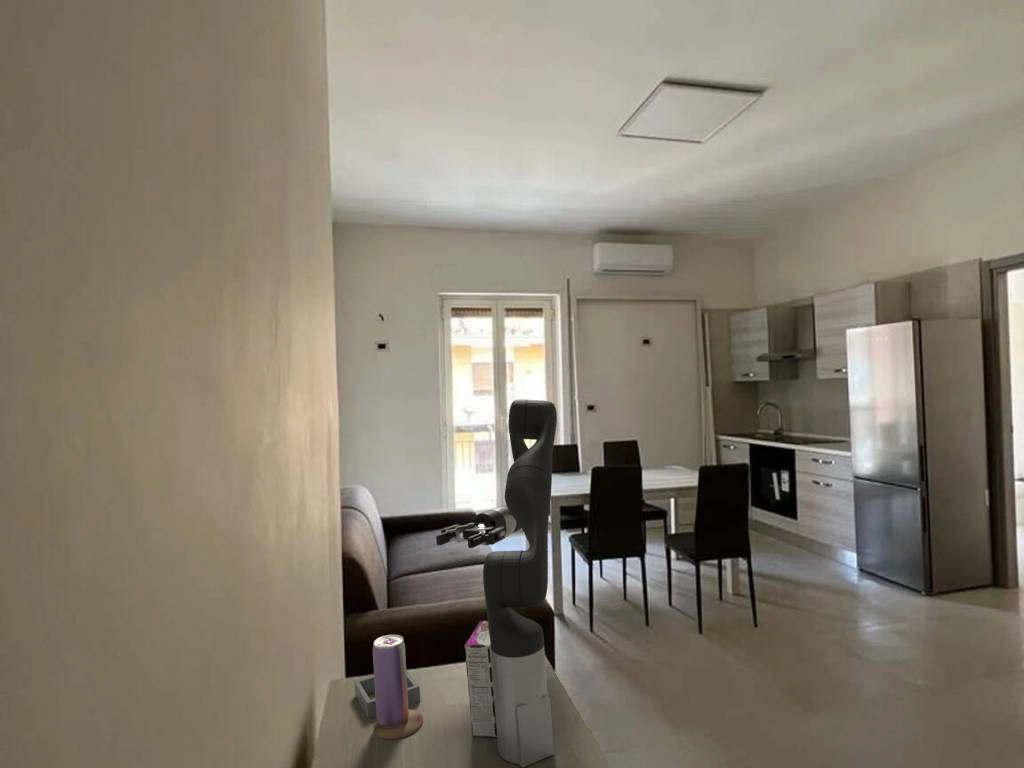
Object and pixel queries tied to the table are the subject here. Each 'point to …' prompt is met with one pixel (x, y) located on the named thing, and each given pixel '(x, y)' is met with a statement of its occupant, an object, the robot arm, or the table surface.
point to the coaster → (401, 727)
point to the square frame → (368, 687)
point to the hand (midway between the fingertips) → (453, 542)
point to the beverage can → (390, 681)
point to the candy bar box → (481, 682)
